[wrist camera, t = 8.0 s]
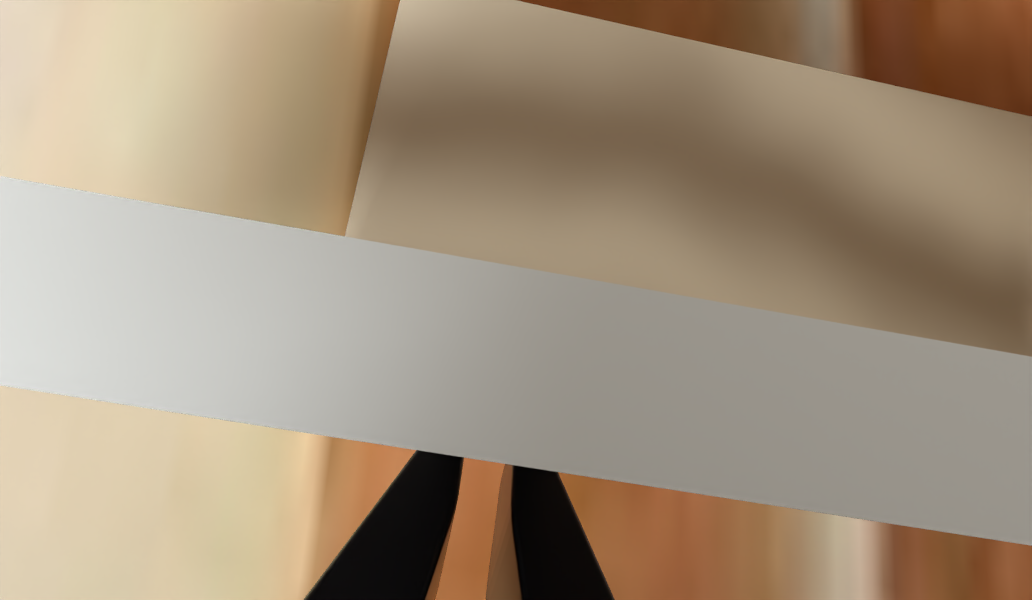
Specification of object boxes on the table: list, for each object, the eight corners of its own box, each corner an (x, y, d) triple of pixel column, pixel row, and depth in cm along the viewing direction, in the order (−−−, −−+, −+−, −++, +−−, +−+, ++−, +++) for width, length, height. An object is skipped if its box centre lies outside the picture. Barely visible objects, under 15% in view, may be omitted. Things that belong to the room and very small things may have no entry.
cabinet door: (1010, 504, 15) (2303, 773, 5) (313, 393, 14) (-127, 403, 4) (1012, 437, 16) (2248, 543, 5) (328, 324, 15) (-44, 134, 4)
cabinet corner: (1085, 466, 16) (2744, 667, 4) (334, 321, 15) (-112, 77, 3) (1102, 104, 18) (2367, -460, 6) (421, -52, 17) (327, -1122, 5)
